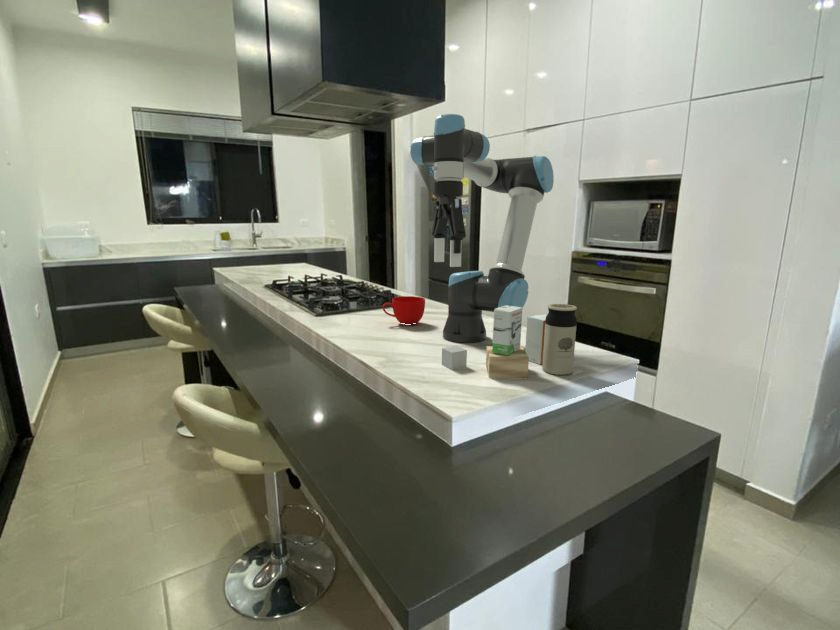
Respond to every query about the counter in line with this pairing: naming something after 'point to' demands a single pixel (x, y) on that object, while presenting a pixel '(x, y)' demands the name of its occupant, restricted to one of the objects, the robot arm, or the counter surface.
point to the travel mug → (559, 339)
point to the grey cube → (454, 357)
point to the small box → (535, 338)
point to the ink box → (507, 329)
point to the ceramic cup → (407, 309)
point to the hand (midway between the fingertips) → (446, 264)
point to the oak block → (507, 364)
